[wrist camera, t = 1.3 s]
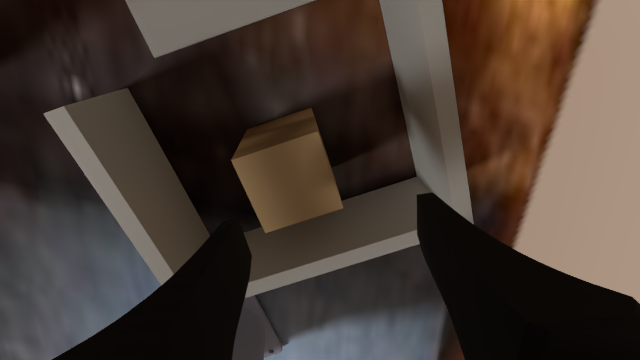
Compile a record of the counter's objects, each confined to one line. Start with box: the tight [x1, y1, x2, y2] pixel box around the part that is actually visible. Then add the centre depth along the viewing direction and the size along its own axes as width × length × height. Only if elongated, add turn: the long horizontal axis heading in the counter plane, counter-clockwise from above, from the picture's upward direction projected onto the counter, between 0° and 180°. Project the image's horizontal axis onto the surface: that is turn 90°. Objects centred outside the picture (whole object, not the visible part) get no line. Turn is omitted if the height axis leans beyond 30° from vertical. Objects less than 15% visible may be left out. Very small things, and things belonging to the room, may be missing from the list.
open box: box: [44, 0, 474, 298], centre depth 19 cm, size 18×13×6 cm
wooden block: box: [231, 108, 343, 233], centre depth 19 cm, size 4×4×6 cm
